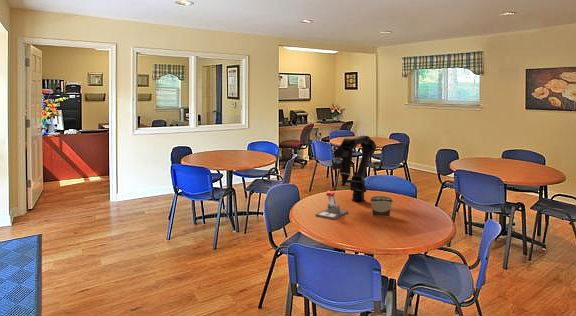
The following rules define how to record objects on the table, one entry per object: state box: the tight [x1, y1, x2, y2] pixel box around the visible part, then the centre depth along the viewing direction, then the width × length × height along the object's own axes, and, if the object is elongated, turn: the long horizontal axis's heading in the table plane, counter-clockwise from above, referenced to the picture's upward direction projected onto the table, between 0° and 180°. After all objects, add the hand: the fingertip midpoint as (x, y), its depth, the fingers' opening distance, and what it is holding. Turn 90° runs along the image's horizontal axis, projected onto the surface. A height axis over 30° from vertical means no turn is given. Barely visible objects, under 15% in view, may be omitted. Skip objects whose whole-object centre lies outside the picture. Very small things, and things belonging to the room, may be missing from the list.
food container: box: [369, 195, 394, 217], centre depth 235 cm, size 12×6×10 cm, turn 84°
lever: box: [326, 190, 337, 209], centre depth 235 cm, size 2×4×11 cm, turn 54°
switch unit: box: [315, 203, 349, 221], centre depth 236 cm, size 16×12×5 cm
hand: (343, 185), depth 249 cm, fingers closed
